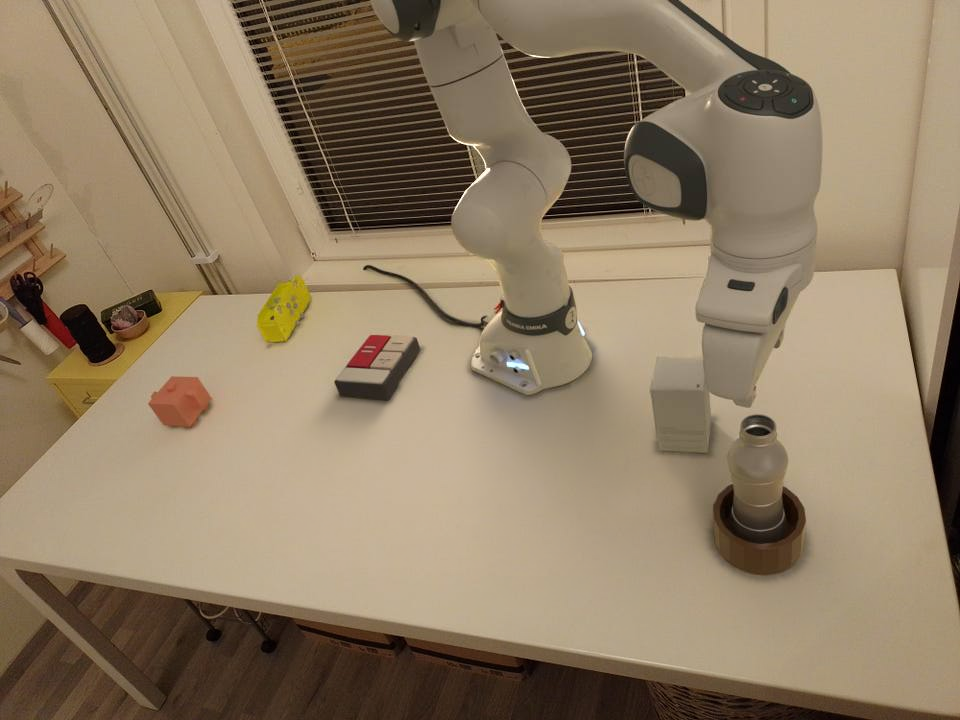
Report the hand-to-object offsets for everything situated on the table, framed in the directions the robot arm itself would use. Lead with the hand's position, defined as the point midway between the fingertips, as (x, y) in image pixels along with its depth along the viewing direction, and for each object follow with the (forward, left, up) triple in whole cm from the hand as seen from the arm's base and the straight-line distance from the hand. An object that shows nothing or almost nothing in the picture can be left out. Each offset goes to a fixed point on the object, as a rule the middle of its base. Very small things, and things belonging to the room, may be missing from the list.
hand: (759, 371), depth 73 cm
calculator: (-74, +10, -29) cm, 80 cm away
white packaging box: (-15, +14, -29) cm, 36 cm away
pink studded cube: (-107, -14, -29) cm, 112 cm away
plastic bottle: (0, 0, -28) cm, 28 cm away
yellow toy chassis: (-108, +17, -29) cm, 113 cm away
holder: (0, 0, -29) cm, 29 cm away
